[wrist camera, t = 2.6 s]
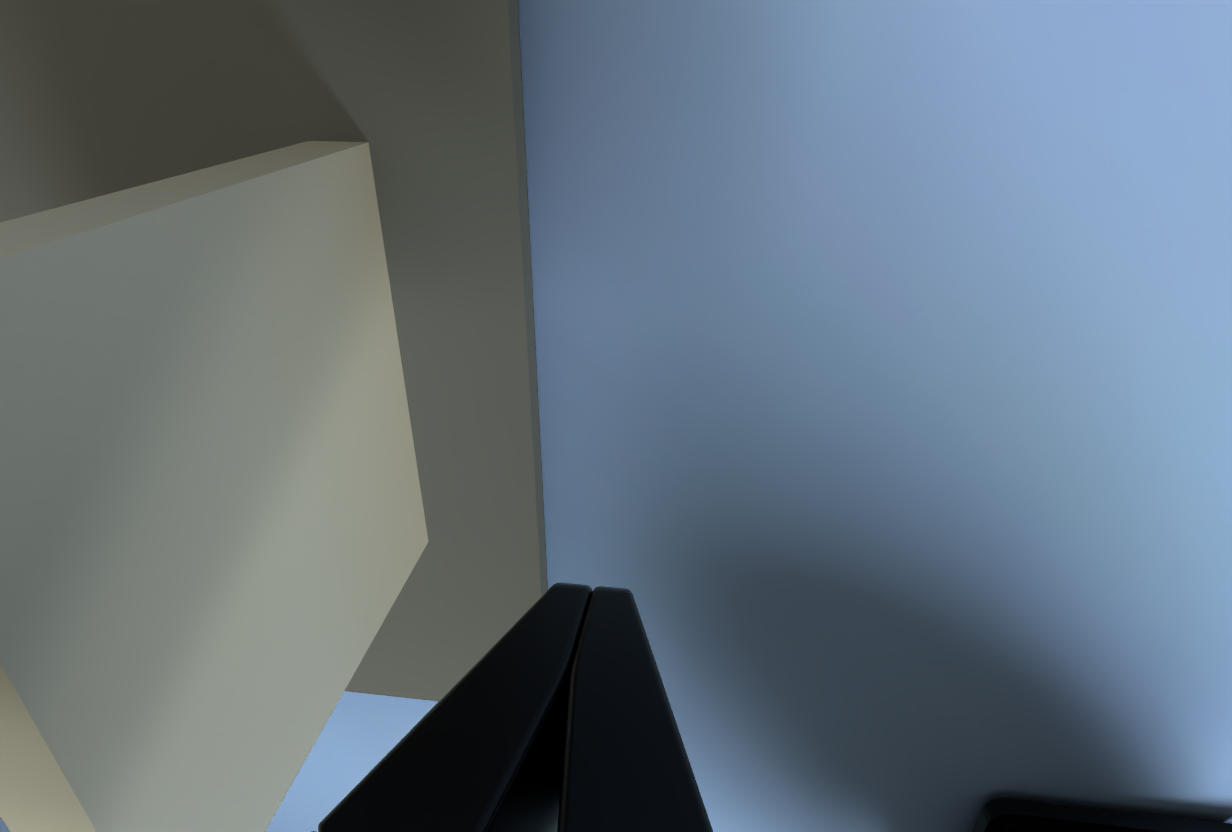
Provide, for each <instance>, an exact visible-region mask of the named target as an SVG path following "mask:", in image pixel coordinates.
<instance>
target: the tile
mask: <svg viewBox="0 0 1232 832" xmlns="http://www.w3.org/2000/svg"><path fill="white" fill-rule="evenodd" d="M427 543H428V535H427V529H426V522H425V515H424V509H423V502H422V495H421V489H420V482H419V475H418V469H417V462H416V455H415V449H414V442H413V435H412V429H411V422H410V415H409V409H408V402H407V396H406V389H405V382H404V376H403V369H402V362H401V356H400V349H399V342H398V336H397V329H396V322H395V316H394V309H393V302H392V296H391V289H390V282H389V276H388V269H387V262H386V256H385V249H384V242H383V236H382V229H381V222H380V216H379V209H378V202H377V196H376V189H375V182H374V176H373V169H372V162H371V156H370V149H369V142H338V141H306V142H302V143H299V144H295V145H291V146H287V147H284V148H280V149H276V150H272V151H269V152H265V153H261V154H257V155H253V156H250V157H246V158H242V159H238V160H235V161H231V162H227V163H223V164H220V165H216V166H212V167H208V168H204V169H201V170H197V171H193V172H189V173H186V174H182V175H178V176H174V177H171V178H167V179H163V180H159V181H156V182H152V183H148V184H144V185H140V186H137V187H133V188H129V189H125V190H122V191H118V192H114V193H110V194H107V195H103V196H99V197H95V198H91V199H88V200H84V201H80V202H76V203H73V204H69V205H65V206H61V207H58V208H54V209H50V210H46V211H43V212H39V213H35V214H31V215H27V216H24V217H20V218H16V219H12V220H9V221H5V222H1V223H0V817H1V818H2V820H3V821H4V823H5V824H6V826H7V827H8V829H9V830H10V832H265V831H266V829H267V827H268V826H269V824H270V822H271V820H272V818H273V817H274V815H275V813H276V811H277V810H278V808H279V806H280V804H281V802H282V801H283V799H284V797H285V795H286V794H287V792H288V790H289V788H290V787H291V785H292V783H293V781H294V779H295V778H296V776H297V774H298V772H299V771H300V769H301V767H302V765H303V763H304V762H305V760H306V758H307V756H308V755H309V753H310V751H311V749H312V747H313V746H314V744H315V742H316V740H317V739H318V737H319V735H320V733H321V731H322V730H323V728H324V726H325V724H326V723H327V721H328V719H329V717H330V716H331V714H332V712H333V710H334V708H335V707H336V705H337V703H338V701H339V700H340V698H341V696H342V694H343V692H344V691H345V689H346V687H347V685H348V684H349V682H350V680H351V678H352V676H353V675H354V673H355V671H356V669H357V668H358V666H359V664H360V662H361V660H362V659H363V657H364V655H365V653H366V652H367V650H368V648H369V646H370V645H371V643H372V641H373V639H374V637H375V636H376V634H377V632H378V630H379V629H380V627H381V625H382V623H383V621H384V620H385V618H386V616H387V614H388V613H389V611H390V609H391V607H392V605H393V604H394V602H395V600H396V598H397V597H398V595H399V593H400V591H401V589H402V588H403V586H404V584H405V582H406V581H407V579H408V577H409V575H410V574H411V572H412V570H413V568H414V566H415V565H416V563H417V561H418V559H419V558H420V556H421V554H422V552H423V550H424V549H425V547H426V545H427Z"/></svg>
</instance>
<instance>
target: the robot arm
mask: <svg viewBox="0 0 1232 832" xmlns="http://www.w3.org/2000/svg"><path fill="white" fill-rule="evenodd" d="M313 832H315V831H313ZM318 832H713V830H712V827H711V824H710V821H709V818H708V815H707V812H706V809H705V806H704V803H703V800H702V797H701V795H700V792H699V789H698V786H697V783H696V780H695V777H694V774H693V771H692V768H691V765H690V762H689V759H688V756H687V753H686V750H685V747H684V744H683V741H682V738H681V735H680V733H679V730H678V727H677V724H676V721H675V718H674V715H673V712H672V709H671V706H670V703H669V700H668V697H667V694H666V691H665V688H664V685H663V682H662V679H661V676H660V673H659V670H658V668H657V665H656V662H655V659H654V656H653V653H652V650H651V647H650V644H649V641H648V638H647V635H646V632H645V629H644V626H643V623H642V620H641V617H640V614H639V611H638V608H637V605H636V603H635V600H634V597H633V594H632V593H631V591H630V590H628V589H624V588H613V587H602V586H599V587H596V588H595V589H594V590H593V591H592V589H591V587H589V586H588V585H580V584H570V583H557V584H554V585H553V586H552V587H551V588H550V589H549V590H548V591H547V592H546V593H545V594H544V595H543V596H542V597H541V598H540V599H539V600H538V601H537V602H536V603H535V604H534V605H533V606H532V607H531V608H530V609H529V610H528V611H527V612H526V613H525V614H524V615H523V616H522V617H521V618H520V619H519V620H518V621H517V622H516V623H515V624H514V625H513V626H512V627H511V628H510V629H509V630H508V631H507V633H506V634H505V635H504V636H503V637H502V638H501V639H500V640H499V641H498V642H497V643H496V644H495V645H494V646H493V647H492V648H491V649H490V650H489V651H488V652H487V653H486V654H485V655H484V656H483V657H482V658H481V659H480V660H479V661H478V662H477V663H476V664H475V665H474V666H473V667H472V668H471V669H470V670H469V671H468V672H467V673H466V674H465V675H464V676H463V677H462V678H461V679H460V681H459V682H458V683H457V684H456V685H455V686H454V687H453V688H452V689H451V690H450V691H449V692H448V693H447V694H446V695H445V696H444V697H443V698H442V699H441V700H440V701H439V702H438V703H437V704H436V705H435V706H434V707H433V708H432V709H431V710H430V711H429V712H428V713H427V714H426V715H425V716H424V717H423V718H422V719H421V720H420V721H419V722H418V723H417V724H416V725H415V726H414V727H413V729H412V730H411V731H410V732H409V733H408V734H407V735H406V736H405V737H404V738H403V739H402V740H401V741H400V742H399V743H398V744H397V745H396V746H395V747H394V748H393V749H392V750H391V751H390V752H389V753H388V754H387V755H386V756H385V757H384V758H383V759H382V760H381V761H380V762H379V763H378V764H377V765H376V766H375V767H374V768H373V769H372V770H371V771H370V772H369V773H368V774H367V775H366V777H365V778H364V779H363V780H362V781H361V782H360V783H359V784H358V785H357V786H356V787H355V788H354V789H353V790H352V791H351V792H350V793H349V794H348V795H347V796H346V797H345V798H344V799H343V800H342V801H341V802H340V803H339V804H338V805H337V806H336V807H335V808H334V809H333V810H332V811H331V812H330V813H329V814H328V815H327V816H326V817H325V818H324V819H323V820H322V821H321V822H320V824H319V826H318ZM973 832H1232V824H1230V823H1221V822H1212V821H1204V820H1195V819H1186V818H1177V817H1169V816H1160V815H1151V814H1142V813H1134V812H1125V811H1116V810H1107V809H1099V808H1090V807H1081V806H1073V805H1064V804H1055V803H1046V802H1038V801H1029V800H1020V799H1011V798H999V799H995V800H991V801H990V802H988V803H986V804H985V805H984V806H983V808H982V810H981V812H980V815H979V817H978V819H977V822H976V824H975V827H974V829H973Z"/></svg>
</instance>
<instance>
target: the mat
mask: <svg viewBox="0 0 1232 832" xmlns="http://www.w3.org/2000/svg"><path fill="white" fill-rule="evenodd" d="M306 141H338V142H369V149H370V156H371V162H372V169H373V176H374V182H375V189H376V196H377V202H378V209H379V216H380V222H381V229H382V236H383V242H384V249H385V256H386V262H387V269H388V276H389V282H390V289H391V296H392V302H393V309H394V316H395V322H396V329H397V336H398V342H399V349H400V356H401V362H402V369H403V376H404V382H405V389H406V396H407V402H408V409H409V415H410V422H411V429H412V435H413V442H414V449H415V455H416V462H417V469H418V475H419V482H420V489H421V495H422V502H423V509H424V515H425V522H426V529H427V535H428V543H427V545H426V547H425V549H424V550H423V552H422V554H421V556H420V558H419V559H418V561H417V563H416V565H415V566H414V568H413V570H412V572H411V574H410V575H409V577H408V579H407V581H406V582H405V584H404V586H403V588H402V589H401V591H400V593H399V595H398V597H397V598H396V600H395V602H394V604H393V605H392V607H391V609H390V611H389V613H388V614H387V616H386V618H385V620H384V621H383V623H382V625H381V627H380V629H379V630H378V632H377V634H376V636H375V637H374V639H373V641H372V643H371V645H370V646H369V648H368V650H367V652H366V653H365V655H364V657H363V659H362V660H361V662H360V664H359V666H358V668H357V669H356V671H355V673H354V675H353V676H352V678H351V680H350V682H349V684H348V685H347V687H346V689H345V691H350V692H359V693H368V694H377V695H386V696H395V697H404V698H414V699H423V700H432V701H440V700H441V699H442V698H443V697H444V696H445V695H446V694H447V693H448V692H449V691H450V690H451V689H452V688H453V687H454V686H455V685H456V684H457V683H458V682H459V681H460V679H461V678H462V677H463V676H464V675H465V674H466V673H467V672H468V671H469V670H470V669H471V668H472V667H473V666H474V665H475V664H476V663H477V662H478V661H479V660H480V659H481V658H482V657H483V656H484V655H485V654H486V653H487V652H488V651H489V650H490V649H491V648H492V647H493V646H494V645H495V644H496V643H497V642H498V641H499V640H500V639H501V638H502V637H503V636H504V635H505V634H506V633H507V631H508V630H509V629H510V628H511V627H512V626H513V625H514V624H515V623H516V622H517V621H518V620H519V619H520V618H521V617H522V616H523V615H524V614H525V613H526V612H527V611H528V610H529V609H530V608H531V607H532V606H533V605H534V604H535V603H536V602H537V601H538V600H539V599H540V598H541V597H542V596H543V595H544V594H545V593H546V592H547V591H548V582H547V563H546V543H545V524H544V504H543V484H542V465H541V445H540V426H539V406H538V386H537V367H536V347H535V328H534V308H533V288H532V269H531V249H530V230H529V210H528V190H527V171H526V151H525V131H524V112H523V92H522V73H521V53H520V33H519V14H518V0H0V223H1V222H5V221H9V220H12V219H16V218H20V217H24V216H27V215H31V214H35V213H39V212H43V211H46V210H50V209H54V208H58V207H61V206H65V205H69V204H73V203H76V202H80V201H84V200H88V199H91V198H95V197H99V196H103V195H107V194H110V193H114V192H118V191H122V190H125V189H129V188H133V187H137V186H140V185H144V184H148V183H152V182H156V181H159V180H163V179H167V178H171V177H174V176H178V175H182V174H186V173H189V172H193V171H197V170H201V169H204V168H208V167H212V166H216V165H220V164H223V163H227V162H231V161H235V160H238V159H242V158H246V157H250V156H253V155H257V154H261V153H265V152H269V151H272V150H276V149H280V148H284V147H287V146H291V145H295V144H299V143H302V142H306Z"/></svg>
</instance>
